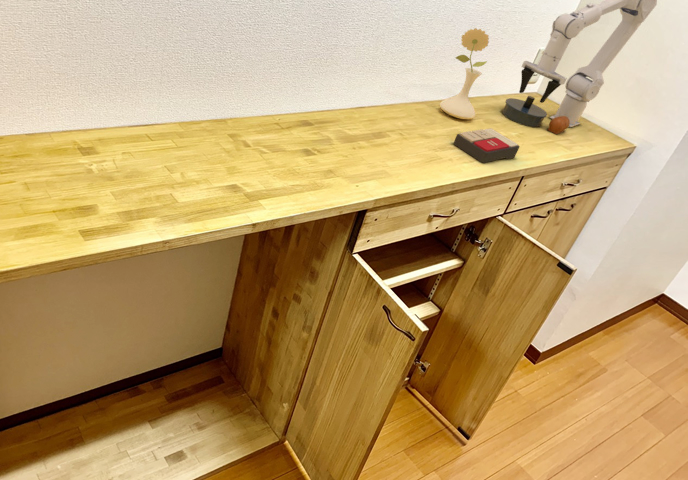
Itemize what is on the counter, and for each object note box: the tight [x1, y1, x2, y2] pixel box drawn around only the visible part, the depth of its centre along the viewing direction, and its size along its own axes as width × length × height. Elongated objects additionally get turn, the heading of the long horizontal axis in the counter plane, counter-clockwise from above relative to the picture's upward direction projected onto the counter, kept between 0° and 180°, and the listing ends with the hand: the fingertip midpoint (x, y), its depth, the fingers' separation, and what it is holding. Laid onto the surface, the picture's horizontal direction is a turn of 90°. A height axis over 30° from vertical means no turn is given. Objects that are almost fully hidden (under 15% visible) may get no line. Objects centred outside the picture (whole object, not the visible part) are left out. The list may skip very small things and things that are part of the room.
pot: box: [501, 103, 545, 128], centre depth 190 cm, size 13×13×3 cm
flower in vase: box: [439, 27, 490, 120], centre depth 171 cm, size 13×11×25 cm
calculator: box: [452, 128, 520, 164], centre depth 157 cm, size 11×4×15 cm
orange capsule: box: [547, 116, 570, 135], centre depth 187 cm, size 9×5×5 cm, turn 135°
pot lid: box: [505, 95, 548, 119], centre depth 188 cm, size 14×14×4 cm
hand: (531, 97), depth 187 cm, fingers open, 7 cm apart
